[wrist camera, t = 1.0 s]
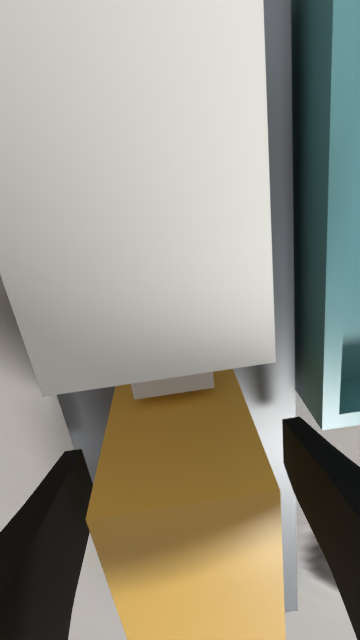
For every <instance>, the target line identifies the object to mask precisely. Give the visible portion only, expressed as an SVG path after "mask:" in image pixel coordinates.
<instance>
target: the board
mask: <svg viewBox="0 0 360 640" xmlns="http://www.w3.org/2000/svg"><path fill="white" fill-rule="evenodd" d="M263 7H264V35H265V64H266V93H267V121H268V150H269V178H270V207H271V236H272V264H273V293H274V321H275V350H276V362H275V363H268V364H261V365H255V366H248V367H241V368H234V369H233V370H234V373H235V375H236V378H237V380H238V383H239V385H240V388H241V391H242V393H243V396H244V398H245V401H246V403H247V406H248V409H249V411H250V414H251V416H252V419H253V421H254V424H255V427H256V429H257V432H258V434H259V437H260V440H261V442H262V445H263V447H264V450H265V452H266V455H267V458H268V460H269V463H270V465H271V468H272V470H273V473H274V476H275V478H276V481H277V483H278V486H279V488H280V493H281V522H282V550H283V579H284V607H285V612H290V611H297V518H296V496H295V494H294V491H293V489H292V486H291V483H290V480H289V478H288V475H287V472H286V469H285V466H284V463H283V430H282V419H287V418H294V417H295V332H294V240H293V147H292V54H291V0H263ZM131 388H132V392H133V396H134V400H135V399H142V398H149V397H155V396H162V395H169V394H176V393H183V392H189V391H196V390H203V389H210V388H215V387H214V378H213V372H207V373H200V374H194V375H187V376H180V377H173V378H167V379H160V380H153V381H146V382H139V383H133V384H131ZM114 390H115V386H112V387H106V388H99V389H92V390H85V391H78V392H72V393H65V394H58V395H57V396H58V399H59V403H60V406H61V409H62V412H63V415H64V418H65V421H66V424H67V427H68V430H69V433H70V436H71V439H72V442H73V445H74V448H75V450H78V449H82V451H83V455H84V458H85V461H86V464H87V467H88V470H89V473H90V476H91V480H92V483H93V484H94V479H95V475H96V470H97V466H98V461H99V457H100V453H101V448H102V444H103V439H104V435H105V430H106V426H107V421H108V417H109V412H110V408H111V403H112V399H113V395H114Z"/></svg>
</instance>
